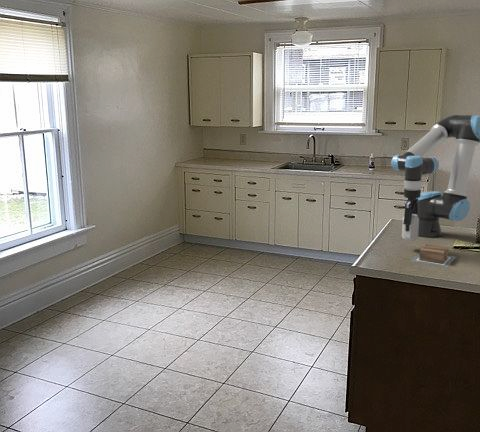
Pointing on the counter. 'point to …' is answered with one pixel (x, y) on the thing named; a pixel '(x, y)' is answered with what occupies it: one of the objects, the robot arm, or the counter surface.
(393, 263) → the counter surface
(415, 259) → the grey flat plate
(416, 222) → the can
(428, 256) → the walnut block
